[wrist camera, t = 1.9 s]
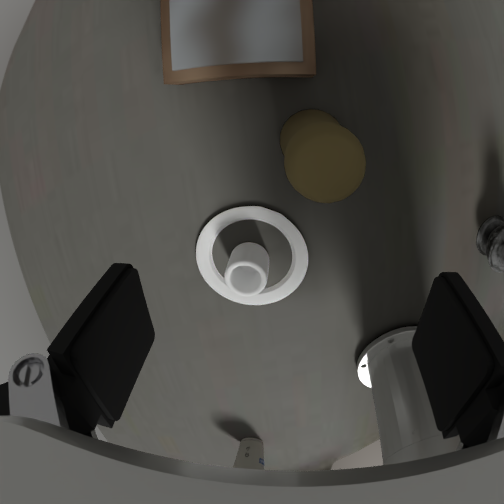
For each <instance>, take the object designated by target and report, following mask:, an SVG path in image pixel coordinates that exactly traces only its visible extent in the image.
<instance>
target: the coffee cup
mask: <svg viewBox="0 0 504 504" xmlns="http://www.w3.org/2000/svg"><path fill="white" fill-rule="evenodd" d="M233 468H244V469H258V470H264V448H263V441H261V440H260V439H257V438H244V439H242V440H241V443H240V446H239V450H238V453H237V456H236V460H235V463H234V466H233Z"/></svg>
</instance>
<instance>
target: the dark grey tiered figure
mask: <svg viewBox="0 0 504 504" xmlns="http://www.w3.org/2000/svg"><path fill="white" fill-rule="evenodd" d="M476 243H477V248H478V250H479V251H480V253H481V254H483V255H487V258H488V261H489V265H490V267H491V268H492V269H493V271H496V272H504V218H502V217H501V216H492V217H490V218H488V219H487V220H486V221H485V222H484V223H483V224H482V226H481V227H480V229H479V231H478V235H477V241H476Z"/></svg>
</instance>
